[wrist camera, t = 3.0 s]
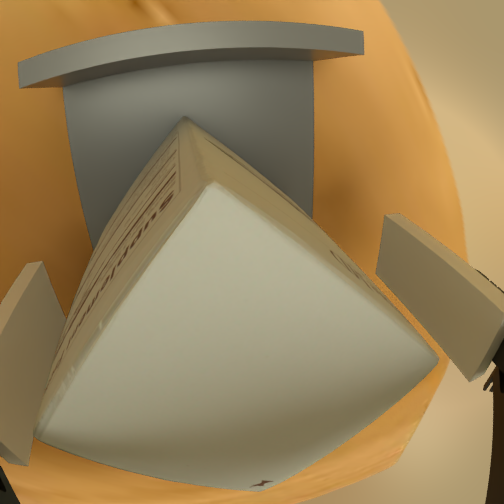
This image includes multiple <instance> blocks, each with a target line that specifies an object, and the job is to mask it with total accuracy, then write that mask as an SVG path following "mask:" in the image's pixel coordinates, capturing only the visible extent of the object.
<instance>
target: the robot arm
mask: <svg viewBox="0 0 504 504" xmlns="http://www.w3.org/2000/svg"><path fill="white" fill-rule="evenodd" d="M376 275H377V276H378V277H379V278H380V279H381V280H382V281H383V282H384V283H385V284H386V285H387V286H388V288H389V289H390V290H391V291H392V292H393V293H394V294H395V295H396V296H397V297H398V299H399V300H400V301H401V302H402V303H403V304H404V305H405V306H406V307H407V309H408V310H409V311H410V312H411V313H412V314H413V315H414V316H415V318H416V319H417V320H418V321H419V322H420V323H421V324H422V326H423V327H424V328H425V329H426V330H427V331H428V333H429V334H430V335H431V336H432V337H433V338H434V340H435V341H436V342H437V343H438V344H439V346H440V347H441V348H442V349H443V350H444V352H445V353H446V354H447V355H448V356H449V358H450V359H451V360H452V361H453V363H454V364H455V365H456V366H457V367H458V369H459V370H460V371H461V372H462V374H463V375H464V376H465V378H466V379H467V380H468V381H469V382H471V381H473V380H474V379H476V378H478V377H480V376H482V375H483V374H484V373H485V372H486V370H487V368H488V367H489V365H490V363H491V361H493V362H494V363H495V365H496V367H495V369H494V371H493V372H492V374H491V375H490V377H489V378H488V380H487V382H486V383H485V385H484V388H483V390H484V391H485V390H486V389H487V388H488V386H489V385H490V383H492V382H493V386H492V387H491V389H490V391H491V392H493V411H494V412H493V441H492V455H491V467H490V475H489V483H488V490H487V497H486V503H485V504H504V292H503V291H502V290H501V289H500V288H499V287H498V288H497V287H496V285H495V284H494V283H493V282H492V281H489V279H488V278H487V277H486V276H485V275H483V274H482V273H481V272H480V271H478V270H476V269H474V268H473V267H471V266H470V265H469V264H468V263H466V262H465V261H464V260H463V259H461V258H460V257H459V256H457V255H456V254H455V253H454V252H452V251H451V250H450V249H448V248H447V247H446V246H444V245H443V244H442V243H440V242H439V241H438V240H436V239H435V238H434V237H432V236H431V235H430V234H428V233H427V232H425V231H424V230H423V229H421V228H420V227H418V226H417V225H416V224H414V223H413V222H411V221H410V220H409V219H407V218H406V217H404V216H403V215H401V214H400V213H397V214H388V215H385V216H384V223H383V231H382V237H381V244H380V250H379V256H378V262H377V268H376ZM65 322H66V318H65V316H64V313H63V311H62V309H61V306H60V304H59V302H58V299H57V297H56V294H55V292H54V289H53V287H52V284H51V282H50V279H49V277H48V274H47V271H46V269H45V266H44V263H43V261H39V262H33V263H27V264H26V265H25V267H24V268H23V270H22V271H21V273H20V274H19V276H18V277H17V279H16V280H15V282H14V283H13V285H12V286H11V288H10V289H9V291H8V293H7V294H6V296H5V297H4V299H3V301H2V302H1V304H0V456H1V457H3V458H4V459H5V460H6V461H7V462H8V463H12V464H17V465H23V466H28V465H29V459H30V453H31V447H32V442H33V437H34V435H33V428H34V424H35V421H36V418H37V415H38V411H39V408H40V405H41V401H42V398H43V394H44V390H45V386H46V383H47V379H48V375H49V372H50V369H51V365H52V362H53V359H54V355H55V352H56V349H57V346H58V343H59V340H60V337H61V334H62V331H63V328H64V325H65ZM0 504H20V502H19V500H18V498H17V497H16V495H15V493H14V491H13V489H12V487H11V485H10V483H9V481H8V479H7V477H6V475H5V473H4V471H3V469H2V467H1V466H0Z"/></svg>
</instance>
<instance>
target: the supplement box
mask: <svg viewBox="0 0 504 504" xmlns="http://www.w3.org/2000/svg"><path fill="white" fill-rule="evenodd" d="M438 361H439V357H438V356H437V354H436V353H435V352H434V350H433V349H432V348H431V347H430V346H429V345H428V343H427V342H426V341H425V340H424V339H423V337H422V336H421V335H420V334H419V333H418V332H417V330H416V329H415V328H414V327H413V326H412V325H411V324H410V322H409V321H408V320H407V319H406V318H405V317H404V316H403V315H402V314H401V312H400V311H399V310H398V309H397V308H396V307H395V306H394V305H393V304H392V303H391V301H390V300H389V299H388V298H387V297H386V296H385V295H384V294H383V293H382V292H381V291H380V289H379V288H378V287H377V286H376V285H375V284H374V283H373V282H372V281H371V280H370V279H369V278H368V277H367V276H366V274H365V273H364V272H363V271H362V270H361V269H360V268H359V267H358V266H357V265H356V264H355V263H354V262H353V261H352V260H351V259H350V258H349V257H348V256H347V255H346V254H345V253H344V252H343V251H342V250H341V249H340V248H339V246H338V245H337V244H336V243H335V242H334V241H333V240H332V239H331V238H330V237H329V236H328V235H327V234H326V233H325V232H324V231H323V230H322V229H321V228H320V227H319V226H318V225H317V224H316V223H315V222H314V221H313V220H312V219H311V218H310V217H309V216H308V215H307V214H306V213H305V212H304V211H303V210H302V209H301V208H300V207H299V206H298V205H297V204H296V203H295V202H294V201H293V200H292V199H290V198H289V197H288V196H287V195H286V194H284V193H283V192H282V191H281V190H280V189H278V188H277V187H276V186H275V185H274V184H272V183H271V182H270V181H269V180H268V179H266V178H265V177H264V176H263V175H261V174H260V173H259V172H258V171H257V170H255V169H254V168H253V167H252V166H250V165H249V164H248V163H247V162H245V161H244V160H243V159H241V158H240V157H239V156H238V155H236V154H235V153H234V152H232V151H231V150H230V149H229V148H227V147H226V146H225V145H223V144H222V143H221V142H219V141H218V140H217V139H215V138H214V137H213V136H211V135H210V134H209V133H207V132H206V131H205V130H203V129H202V128H201V127H199V126H198V125H197V124H195V123H194V122H193V121H192V120H190V119H189V118H188V117H187V116H183V117H182V118H181V119H180V121H179V122H178V123H177V125H176V126H175V127H174V128H173V130H172V131H171V132H170V134H169V135H168V136H167V138H166V139H165V140H164V141H163V143H162V144H161V145H160V147H159V148H158V149H157V151H156V152H155V153H154V155H153V156H152V158H151V159H150V160H149V162H148V163H147V164H146V166H145V167H144V169H143V170H142V171H141V173H140V174H139V176H138V177H137V179H136V180H135V182H134V183H133V184H132V186H131V187H130V189H129V190H128V192H127V193H126V195H125V196H124V198H123V200H122V201H121V203H120V204H119V206H118V208H117V209H116V211H115V212H114V214H113V216H112V217H111V219H110V220H109V222H108V224H107V225H106V227H105V229H104V231H103V233H102V235H101V237H100V239H99V242H98V244H97V246H96V248H95V250H94V252H93V254H92V256H91V259H90V261H89V263H88V266H87V268H86V270H85V273H84V275H83V277H82V280H81V283H80V285H79V288H78V290H77V293H76V295H75V298H74V301H73V304H72V306H71V309H70V312H69V315H68V318H67V321H66V323H65V326H64V329H63V332H62V335H61V338H60V341H59V344H58V347H57V350H56V354H55V357H54V360H53V364H52V367H51V370H50V374H49V377H48V381H47V384H46V388H45V391H44V395H43V398H42V401H41V405H40V408H39V411H38V415H37V418H36V421H35V424H34V428H33V435H34V437H35V438H36V439H38V440H39V441H41V442H43V443H45V444H47V445H50V446H52V447H55V448H58V449H60V450H63V451H65V452H68V453H71V454H74V455H77V456H80V457H83V458H86V459H89V460H92V461H95V462H98V463H101V464H105V465H108V466H111V467H115V468H118V469H122V470H126V471H130V472H134V473H138V474H142V475H146V476H151V477H155V478H159V479H163V480H168V481H174V482H181V483H187V484H193V485H200V486H207V487H215V488H223V489H233V490H244V491H258V492H259V491H263V490H266V489H268V488H270V487H272V486H274V485H277V484H279V483H281V482H283V481H285V480H286V479H288V478H290V477H292V476H294V475H295V474H297V473H299V472H301V471H302V470H304V469H305V468H307V467H309V466H310V465H312V464H314V463H315V462H317V461H318V460H320V459H321V458H323V457H324V456H326V455H327V454H329V453H330V452H332V451H333V450H335V449H336V448H338V447H339V446H341V445H342V444H343V443H345V442H346V441H348V440H349V439H350V438H352V437H353V436H355V435H356V434H357V433H359V432H360V431H361V430H363V429H364V428H365V427H367V426H368V425H369V424H371V423H372V422H373V421H375V420H376V419H377V418H378V417H380V416H381V415H382V414H383V413H385V412H386V411H387V410H388V409H390V408H391V407H392V406H393V405H394V404H396V403H397V402H398V401H399V400H400V399H402V398H403V397H404V396H405V395H406V394H407V393H409V392H410V391H411V390H412V389H413V388H414V387H415V386H416V385H417V384H418V383H419V382H420V381H421V380H422V379H424V378H425V377H426V376H427V375H428V374H429V373H430V372H431V370H432V369H433V368H434V367H435V366H436V365H437V364H438Z"/></svg>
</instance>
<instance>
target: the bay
mask: <svg viewBox="0 0 504 504" xmlns="http://www.w3.org/2000/svg"><path fill="white" fill-rule="evenodd" d="M357 55H364V35H363V31H359V30H353V29H347V28H340V27H333V26H325V25H316V24H306V23H293V22H275V21H218V22H200V23H188V24H177V25H168V26H160V27H153V28H146V29H140V30H134V31H129V32H123V33H118V34H113V35H108V36H104V37H100V38H95V39H91V40H87V41H83V42H79V43H76V44H72V45H69V46H65V47H62V48H59V49H55V50H52V51H49V52H46V53H43V54H40V55H37V56H34V57H31V58H29V59H26V60H23V61H21V62H18V76H19V89H20V88H45V87H63V95H64V105H65V113H66V121H67V129H68V136H69V142H70V148H71V154H72V160H73V165H74V171H75V176H76V181H77V186H78V190H79V195H80V200H81V204H82V208H83V212H84V217H85V221H86V225H87V228H88V232H89V236H90V240H91V243H92V247H93V251H94V250H95V248H96V246H97V244H98V242H99V239H100V237H101V235H102V233H103V231H104V229H105V227H106V225H107V224H108V222H109V220H110V219H111V217H112V216H113V214H114V212H115V211H116V209H117V208H118V206H119V204H120V203H121V201H122V200H123V198H124V196H125V195H126V193H127V192H128V190H129V189H130V187H131V186H132V184H133V183H134V182H135V180H136V179H137V177H138V176H139V174H140V173H141V171H142V170H143V169H144V167H145V166H146V164H147V163H148V162H149V160H150V159H151V158H152V156H153V155H154V153H155V152H156V151H157V149H158V148H159V147H160V145H161V144H162V143H163V141H164V140H165V139H166V138H167V136H168V135H169V134H170V132H171V131H172V130H173V128H174V127H175V126H176V125H177V123H178V122H179V121H180V119H181V118H182V117H183V116H187V117H188V118H189V119H190V120H192V121H193V122H194V123H195V124H197V125H198V126H199V127H201V128H202V129H203V130H205V131H206V132H207V133H209V134H210V135H211V136H213V137H214V138H215V139H217V140H218V141H219V142H221V143H222V144H223V145H225V146H226V147H227V148H229V149H230V150H231V151H232V152H234V153H235V154H236V155H238V156H239V157H240V158H241V159H243V160H244V161H245V162H247V163H248V164H249V165H250V166H252V167H253V168H254V169H255V170H257V171H258V172H259V173H260V174H261V175H263V176H264V177H265V178H266V179H268V180H269V181H270V182H271V183H272V184H274V185H275V186H276V187H277V188H278V189H280V190H281V191H282V192H283V193H284V194H286V195H287V196H288V197H289V198H290V199H292V200H293V201H294V202H295V203H296V204H297V205H298V206H299V207H300V208H301V209H302V210H303V211H304V212H305V213H306V214H307V215H308V216H309V217H310V218H311V219H312V211H313V176H314V83H313V61H317V60H324V59H331V58H339V57H347V56H357Z"/></svg>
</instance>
